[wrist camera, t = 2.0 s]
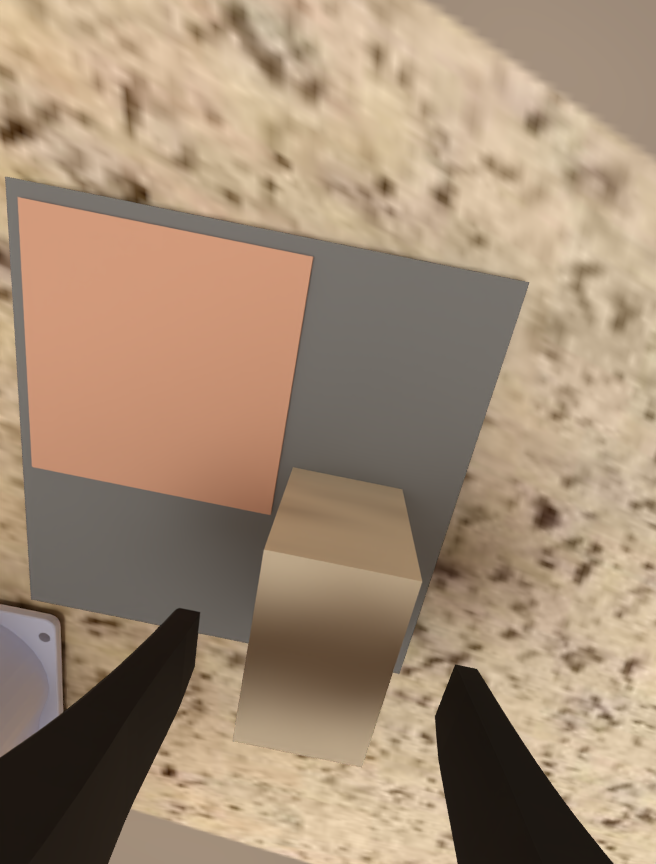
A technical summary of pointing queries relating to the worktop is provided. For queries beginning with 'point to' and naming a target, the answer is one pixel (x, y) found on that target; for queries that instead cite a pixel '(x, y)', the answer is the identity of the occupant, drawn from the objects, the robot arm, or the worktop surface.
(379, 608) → the birch block
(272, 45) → the worktop surface
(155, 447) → the rubber mat
